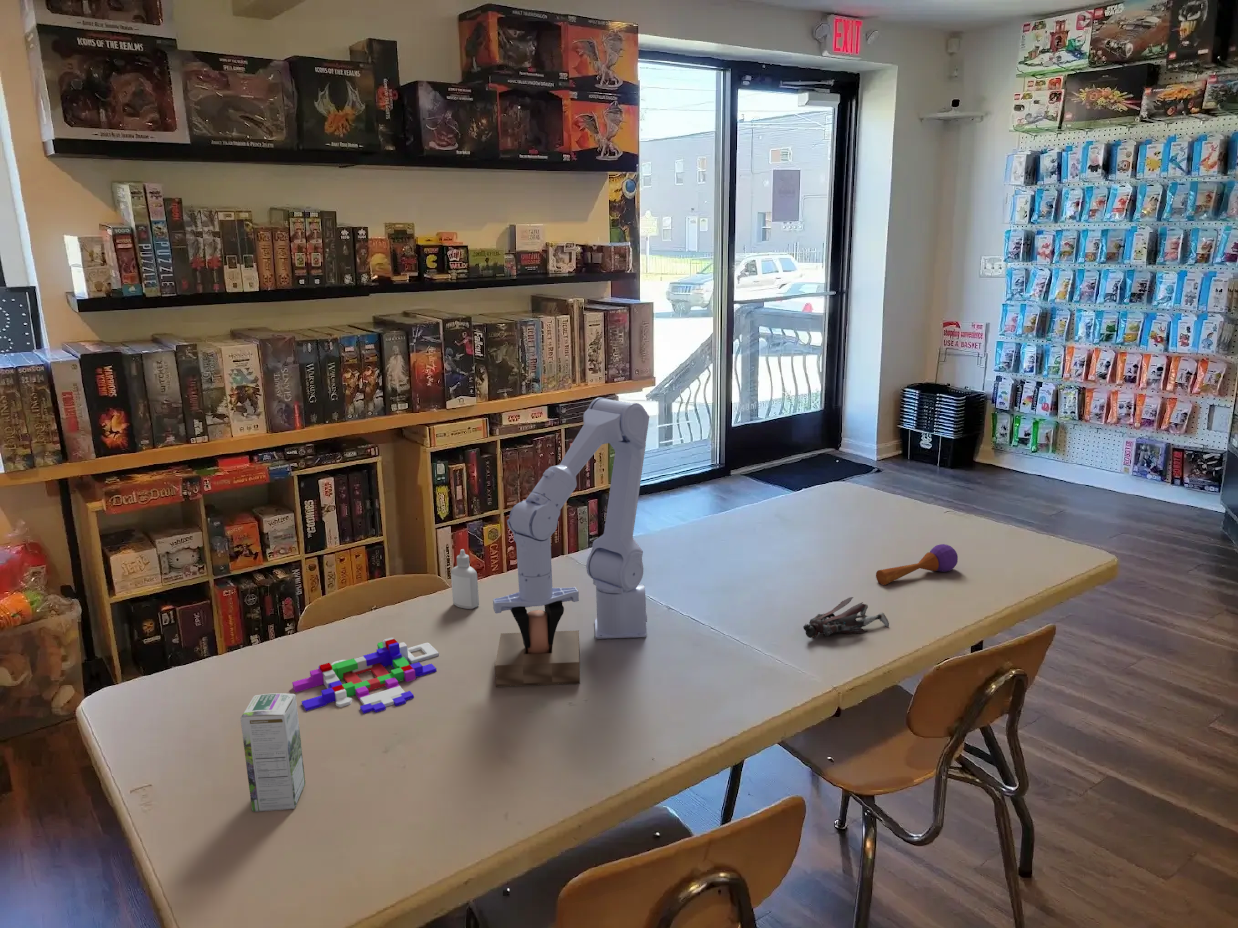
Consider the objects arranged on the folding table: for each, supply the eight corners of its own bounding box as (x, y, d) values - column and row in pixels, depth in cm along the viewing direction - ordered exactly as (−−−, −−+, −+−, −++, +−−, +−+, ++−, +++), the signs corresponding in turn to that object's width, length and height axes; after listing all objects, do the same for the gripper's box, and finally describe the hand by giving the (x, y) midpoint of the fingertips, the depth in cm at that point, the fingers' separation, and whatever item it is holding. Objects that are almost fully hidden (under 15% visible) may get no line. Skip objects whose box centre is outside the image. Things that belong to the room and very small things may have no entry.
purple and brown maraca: (870, 562, 192) (941, 539, 199) (873, 588, 193) (945, 565, 200) (888, 566, 186) (962, 543, 194) (892, 593, 187) (965, 569, 195)
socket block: (579, 650, 163) (578, 630, 162) (579, 683, 152) (579, 661, 151) (501, 653, 163) (500, 633, 162) (496, 686, 151) (495, 665, 150)
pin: (546, 650, 159) (544, 608, 157) (551, 659, 156) (549, 617, 153) (526, 653, 158) (524, 611, 156) (531, 663, 154) (528, 620, 152)
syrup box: (264, 786, 126) (251, 693, 122) (307, 784, 126) (295, 691, 122) (251, 812, 120) (237, 716, 116) (297, 809, 121) (284, 713, 117)
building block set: (318, 733, 140) (315, 708, 138) (285, 680, 156) (282, 656, 155) (467, 686, 153) (466, 662, 151) (422, 641, 169) (420, 619, 168)
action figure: (860, 617, 177) (789, 636, 168) (861, 588, 176) (789, 605, 167) (891, 630, 170) (818, 650, 161) (892, 599, 169) (819, 618, 160)
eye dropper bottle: (460, 612, 180) (456, 556, 177) (451, 602, 185) (447, 547, 182) (481, 607, 182) (477, 552, 179) (471, 597, 187) (468, 543, 184)
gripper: (570, 557, 158) (573, 628, 162) (488, 568, 154) (492, 640, 158) (581, 571, 152) (583, 644, 155) (495, 583, 148) (500, 658, 151)
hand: (538, 643), depth 156 cm, fingers closed on pin, 3 cm apart
